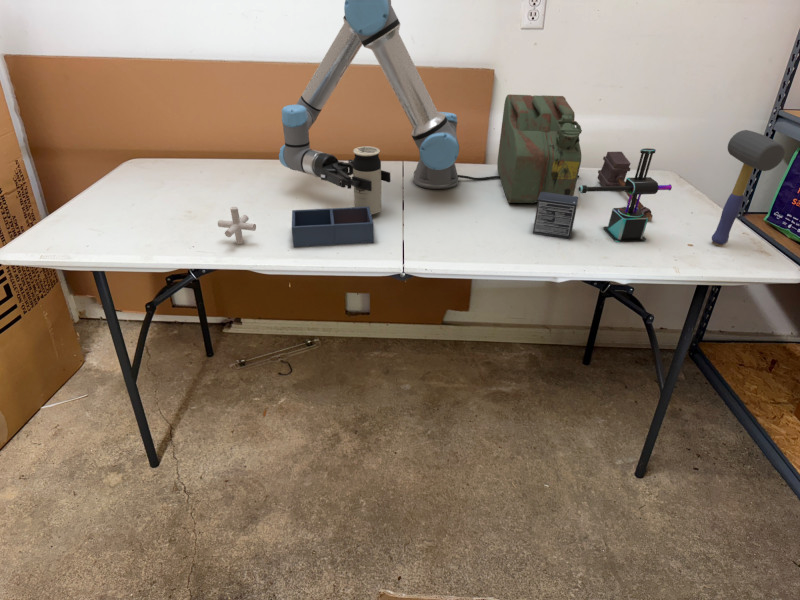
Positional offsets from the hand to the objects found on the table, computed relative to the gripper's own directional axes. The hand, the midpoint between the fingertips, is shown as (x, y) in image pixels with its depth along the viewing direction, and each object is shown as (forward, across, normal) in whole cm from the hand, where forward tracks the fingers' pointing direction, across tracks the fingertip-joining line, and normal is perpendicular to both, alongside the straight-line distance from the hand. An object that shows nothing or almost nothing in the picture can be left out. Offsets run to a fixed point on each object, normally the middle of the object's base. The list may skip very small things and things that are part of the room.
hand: (380, 181), depth 148 cm
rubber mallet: (+84, -44, -12) cm, 95 cm away
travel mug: (-5, 0, -10) cm, 11 cm away
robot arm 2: (+57, -31, -12) cm, 66 cm away
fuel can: (+25, -51, -12) cm, 58 cm away
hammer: (+54, -60, -12) cm, 82 cm away
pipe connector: (-20, +35, -11) cm, 42 cm away
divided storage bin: (-3, +17, -11) cm, 21 cm away
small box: (+44, -23, -12) cm, 51 cm away
